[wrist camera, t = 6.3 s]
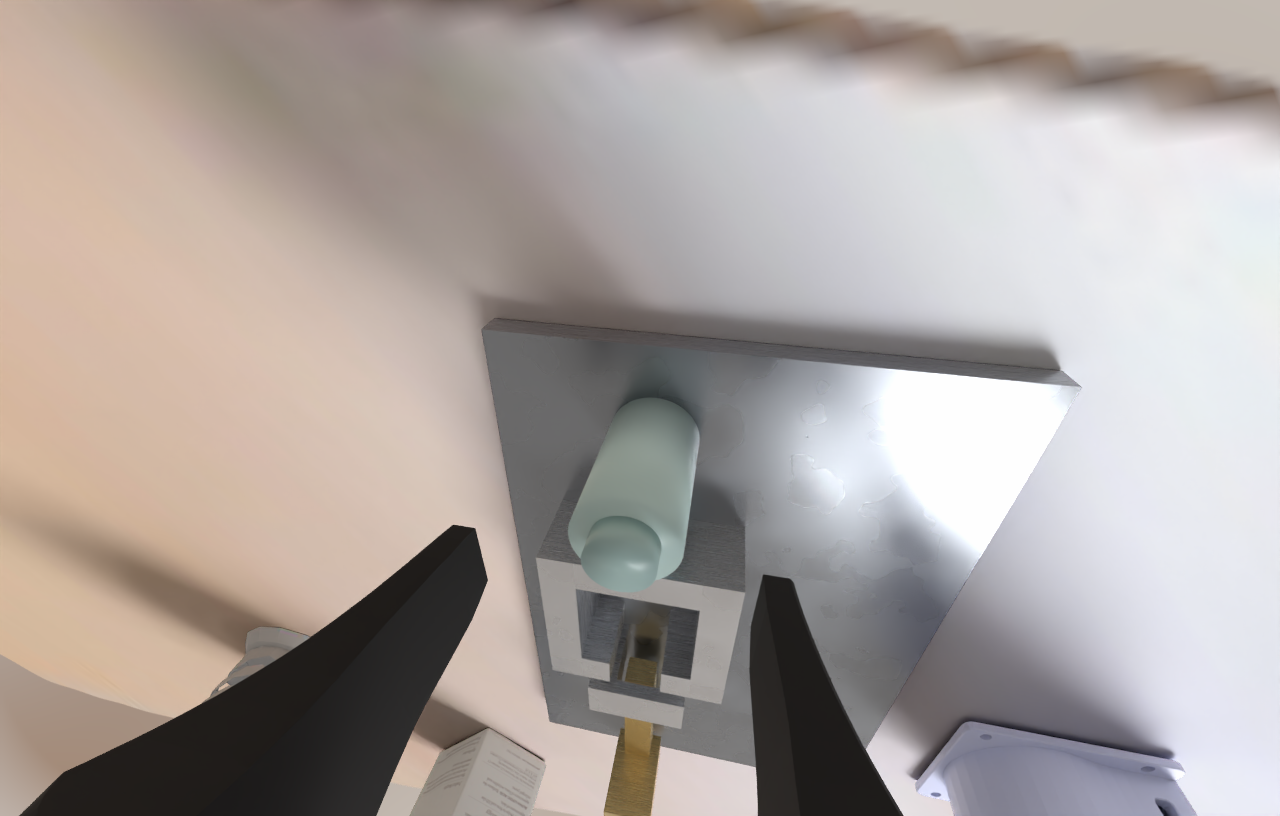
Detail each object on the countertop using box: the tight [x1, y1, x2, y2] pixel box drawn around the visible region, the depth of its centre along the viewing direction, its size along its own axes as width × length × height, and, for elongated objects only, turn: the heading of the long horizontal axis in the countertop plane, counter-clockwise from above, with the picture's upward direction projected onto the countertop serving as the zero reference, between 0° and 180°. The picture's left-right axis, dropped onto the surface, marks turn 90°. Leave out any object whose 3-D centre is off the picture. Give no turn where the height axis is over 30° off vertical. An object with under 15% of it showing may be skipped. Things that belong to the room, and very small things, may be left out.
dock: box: [481, 318, 1082, 767], centre depth 21 cm, size 18×27×4 cm, turn 179°
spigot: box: [568, 397, 700, 592], centre depth 15 cm, size 3×3×6 cm
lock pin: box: [604, 657, 661, 816], centre depth 25 cm, size 2×10×4 cm, turn 179°
